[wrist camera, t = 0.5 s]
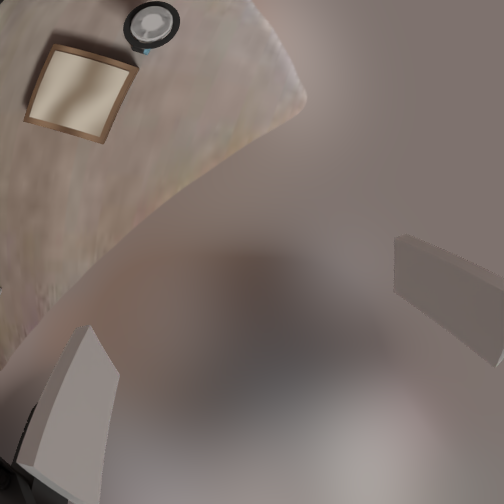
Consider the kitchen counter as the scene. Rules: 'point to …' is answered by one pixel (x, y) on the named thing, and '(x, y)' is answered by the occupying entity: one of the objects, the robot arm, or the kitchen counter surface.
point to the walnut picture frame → (79, 93)
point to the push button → (151, 25)
